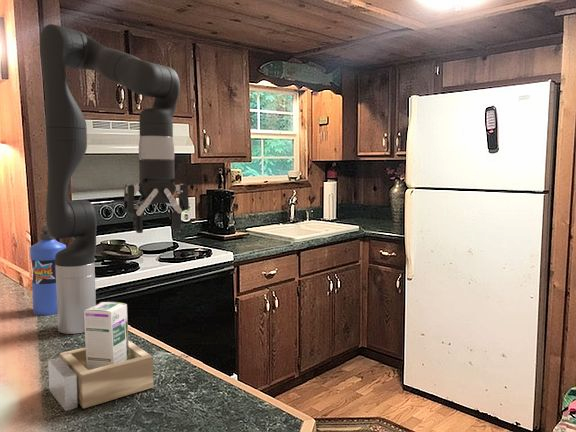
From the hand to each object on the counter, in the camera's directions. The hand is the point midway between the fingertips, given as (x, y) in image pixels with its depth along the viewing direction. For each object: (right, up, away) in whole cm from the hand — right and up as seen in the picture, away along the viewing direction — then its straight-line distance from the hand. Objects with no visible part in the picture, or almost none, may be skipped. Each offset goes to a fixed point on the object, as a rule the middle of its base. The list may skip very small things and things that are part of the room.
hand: (157, 231), depth 108 cm
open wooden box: (-6, -29, -15) cm, 33 cm away
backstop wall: (-12, -30, -20) cm, 38 cm away
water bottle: (-40, -24, +33) cm, 58 cm away
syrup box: (-6, -28, -14) cm, 32 cm away
